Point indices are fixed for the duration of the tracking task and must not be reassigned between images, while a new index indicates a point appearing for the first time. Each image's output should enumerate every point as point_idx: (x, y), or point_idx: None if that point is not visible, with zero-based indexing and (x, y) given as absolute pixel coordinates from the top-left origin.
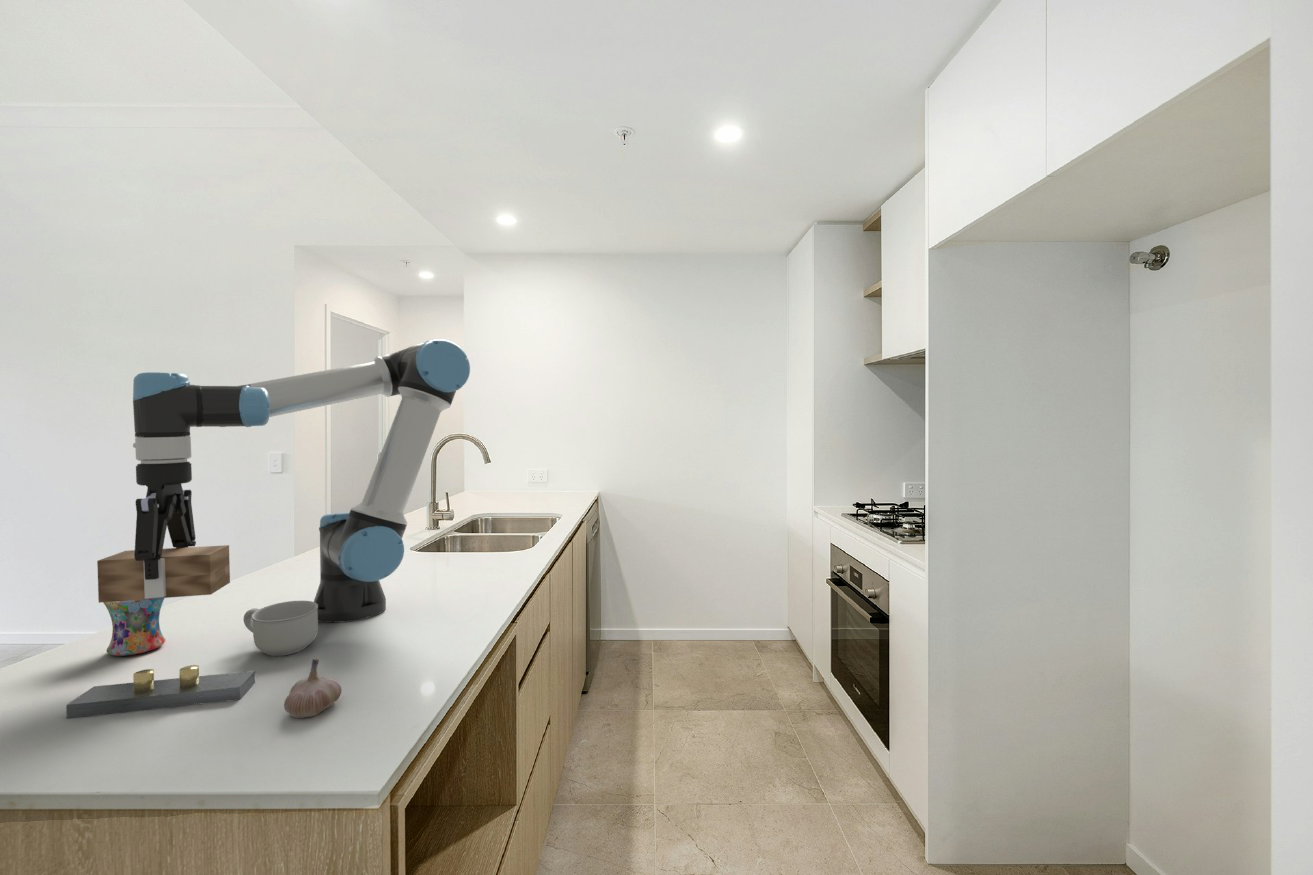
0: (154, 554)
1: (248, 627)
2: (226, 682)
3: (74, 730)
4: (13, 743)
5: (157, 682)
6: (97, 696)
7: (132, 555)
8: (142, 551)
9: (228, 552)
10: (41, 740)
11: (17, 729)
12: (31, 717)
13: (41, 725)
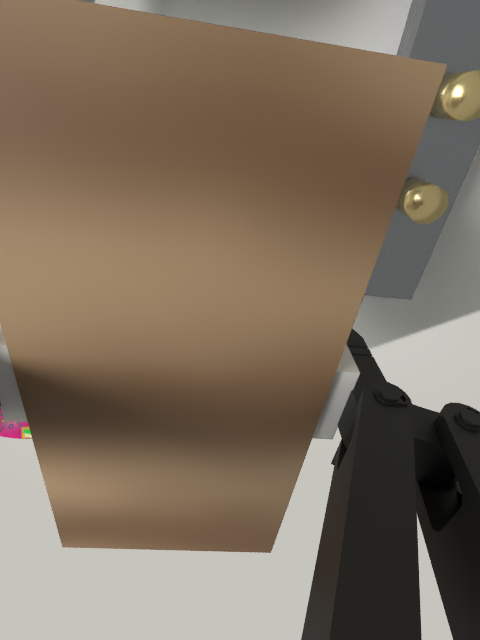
0: (478, 416)
1: (90, 1)
2: None
3: (465, 258)
4: (457, 317)
5: None
6: (399, 267)
7: (202, 501)
8: (457, 480)
9: None
10: (473, 287)
11: (402, 332)
12: (363, 334)
13: (407, 310)
